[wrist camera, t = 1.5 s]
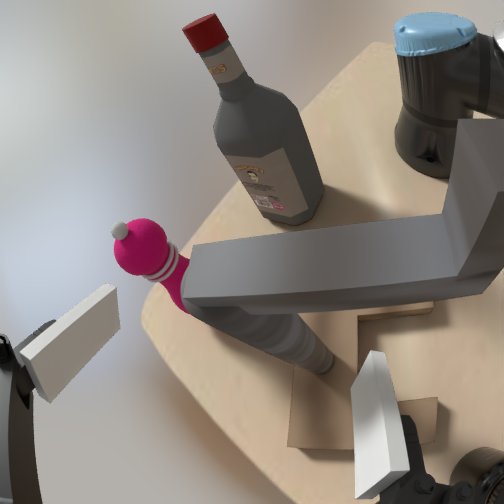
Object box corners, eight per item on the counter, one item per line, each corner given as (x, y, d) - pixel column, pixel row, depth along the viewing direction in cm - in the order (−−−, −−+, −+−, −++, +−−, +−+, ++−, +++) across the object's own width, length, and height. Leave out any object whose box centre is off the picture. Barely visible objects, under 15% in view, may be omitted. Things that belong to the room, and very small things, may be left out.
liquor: (308, 231, 40) (205, 28, 16) (255, 218, 45) (140, 54, 21) (329, 183, 43) (258, -5, 19) (280, 175, 48) (193, 17, 24)
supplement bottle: (487, 493, 13) (525, 523, 3) (440, 498, 16) (466, 538, 7) (504, 442, 16) (553, 454, 6) (458, 447, 19) (497, 467, 9)
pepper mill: (237, 318, 38) (134, 247, 22) (192, 326, 40) (83, 267, 24) (234, 271, 42) (147, 184, 26) (193, 282, 44) (98, 210, 28)
